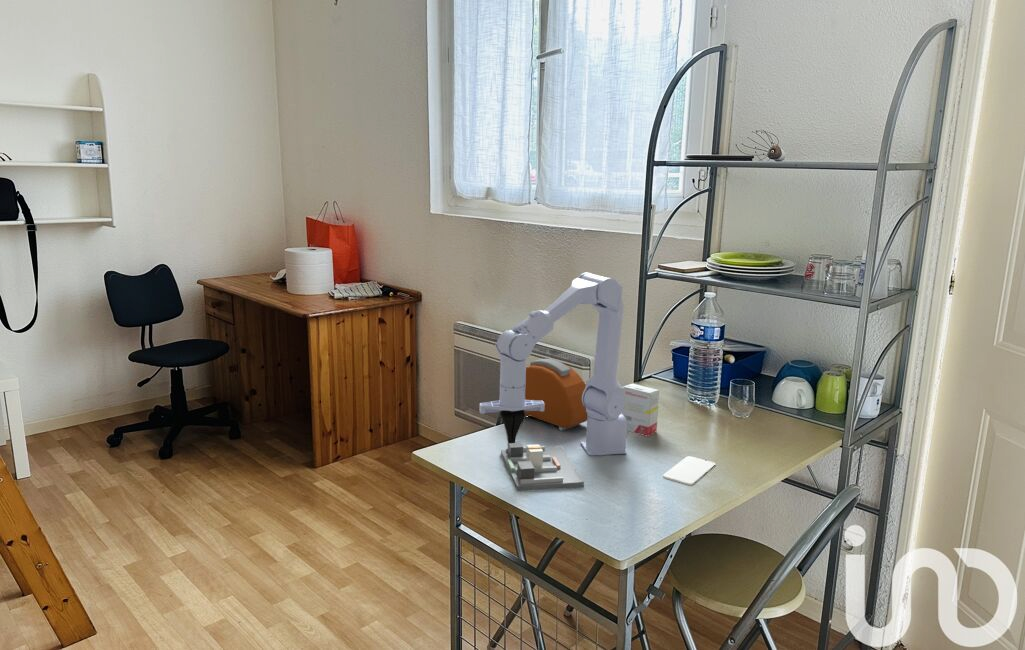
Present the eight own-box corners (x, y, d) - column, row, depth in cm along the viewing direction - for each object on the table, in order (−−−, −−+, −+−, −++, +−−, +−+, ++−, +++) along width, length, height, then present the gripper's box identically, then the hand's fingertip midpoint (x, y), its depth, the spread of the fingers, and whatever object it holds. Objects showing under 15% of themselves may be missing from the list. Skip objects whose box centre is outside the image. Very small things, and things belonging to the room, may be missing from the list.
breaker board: (561, 451, 186) (561, 435, 185) (583, 487, 167) (584, 469, 166) (500, 454, 183) (501, 438, 182) (516, 491, 164) (517, 473, 163)
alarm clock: (592, 427, 202) (595, 367, 198) (570, 435, 196) (573, 373, 192) (528, 405, 218) (530, 349, 214) (506, 412, 212) (507, 354, 208)
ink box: (657, 431, 200) (660, 389, 197) (648, 437, 196) (651, 393, 193) (629, 423, 205) (631, 382, 202) (619, 428, 201) (622, 386, 199)
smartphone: (716, 463, 180) (691, 484, 168) (716, 466, 180) (691, 487, 169) (688, 455, 184) (661, 475, 173) (687, 458, 185) (661, 478, 173)
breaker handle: (538, 460, 176) (539, 443, 175) (542, 467, 173) (543, 450, 172) (526, 461, 176) (526, 444, 175) (529, 468, 172) (530, 451, 171)
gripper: (540, 377, 174) (538, 433, 177) (477, 379, 171) (476, 436, 174) (547, 387, 167) (545, 445, 170) (482, 389, 164) (481, 448, 167)
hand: (511, 441), depth 172 cm, fingers closed
